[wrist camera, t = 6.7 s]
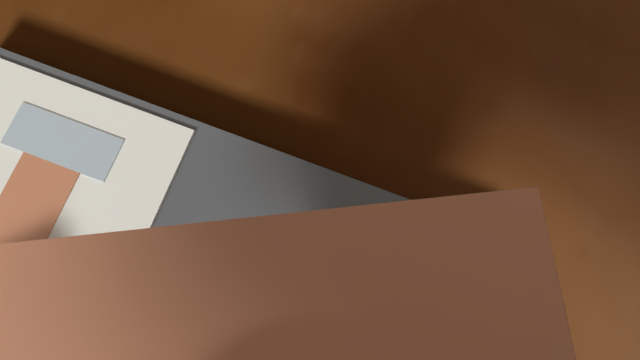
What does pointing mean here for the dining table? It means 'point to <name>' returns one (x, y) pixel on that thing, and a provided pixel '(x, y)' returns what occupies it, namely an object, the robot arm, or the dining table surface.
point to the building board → (137, 163)
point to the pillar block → (297, 287)
